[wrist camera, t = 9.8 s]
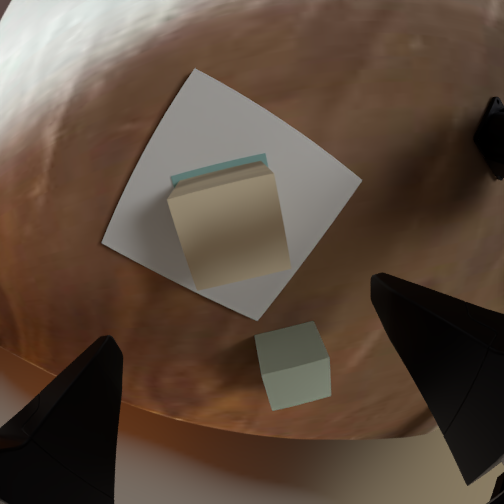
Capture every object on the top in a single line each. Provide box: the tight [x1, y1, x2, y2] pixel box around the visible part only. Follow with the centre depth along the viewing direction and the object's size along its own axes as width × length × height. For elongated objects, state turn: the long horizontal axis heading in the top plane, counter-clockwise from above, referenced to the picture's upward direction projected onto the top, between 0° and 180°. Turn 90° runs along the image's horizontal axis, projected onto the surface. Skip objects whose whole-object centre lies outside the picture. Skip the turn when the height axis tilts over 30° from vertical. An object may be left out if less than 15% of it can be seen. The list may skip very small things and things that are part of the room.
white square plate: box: [102, 69, 362, 321], centre depth 20 cm, size 14×14×1 cm
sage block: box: [254, 321, 331, 411], centre depth 25 cm, size 6×6×5 cm
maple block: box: [167, 161, 291, 291], centre depth 18 cm, size 6×6×5 cm
